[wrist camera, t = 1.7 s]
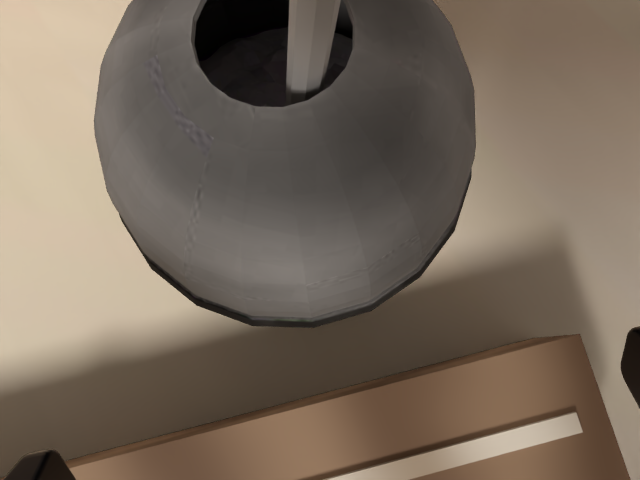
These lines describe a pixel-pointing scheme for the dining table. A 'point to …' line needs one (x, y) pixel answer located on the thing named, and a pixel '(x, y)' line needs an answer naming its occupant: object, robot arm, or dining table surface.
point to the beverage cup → (286, 149)
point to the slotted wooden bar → (405, 428)
